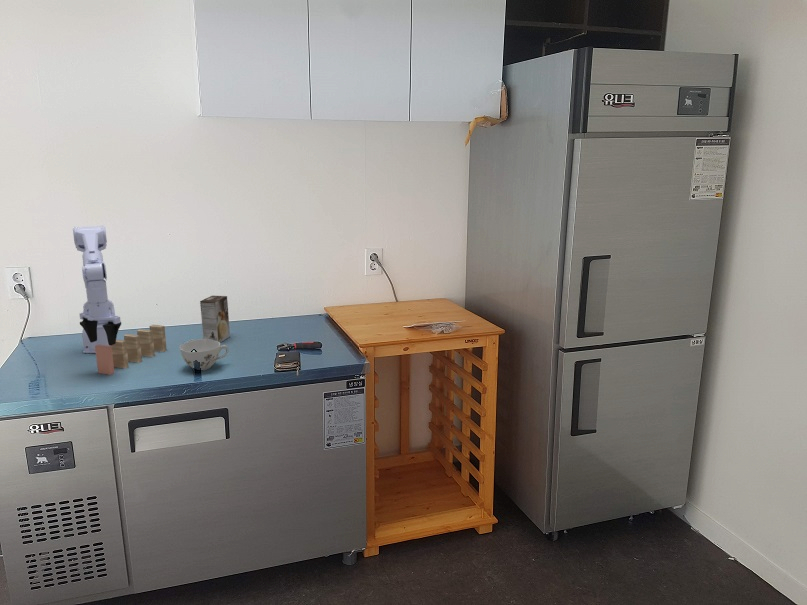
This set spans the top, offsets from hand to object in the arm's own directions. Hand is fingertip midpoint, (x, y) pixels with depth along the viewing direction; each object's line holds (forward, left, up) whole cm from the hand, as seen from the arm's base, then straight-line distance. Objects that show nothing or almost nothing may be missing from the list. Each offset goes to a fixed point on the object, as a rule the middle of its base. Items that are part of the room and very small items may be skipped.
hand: (102, 343), depth 196 cm
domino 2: (+4, +11, -10) cm, 16 cm away
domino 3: (+6, +17, -10) cm, 21 cm away
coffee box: (+24, +36, -10) cm, 44 cm away
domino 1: (+2, +6, -10) cm, 12 cm away
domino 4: (+7, +23, -10) cm, 26 cm away
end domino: (0, 0, -10) cm, 10 cm away
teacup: (+30, +7, -10) cm, 32 cm away
